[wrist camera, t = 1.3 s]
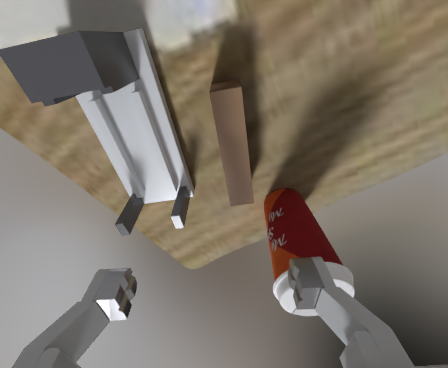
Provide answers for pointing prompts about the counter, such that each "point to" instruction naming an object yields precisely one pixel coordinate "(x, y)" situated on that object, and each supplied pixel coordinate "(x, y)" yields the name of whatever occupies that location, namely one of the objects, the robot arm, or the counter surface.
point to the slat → (232, 139)
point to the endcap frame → (113, 109)
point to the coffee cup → (298, 245)
